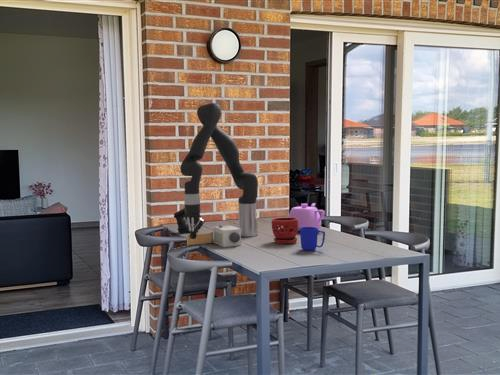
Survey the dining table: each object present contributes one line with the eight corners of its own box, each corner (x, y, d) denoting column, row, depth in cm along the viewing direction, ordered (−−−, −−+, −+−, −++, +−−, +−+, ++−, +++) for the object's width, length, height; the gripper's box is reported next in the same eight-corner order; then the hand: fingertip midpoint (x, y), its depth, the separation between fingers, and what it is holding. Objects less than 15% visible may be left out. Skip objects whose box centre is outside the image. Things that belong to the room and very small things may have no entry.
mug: (320, 253, 257) (320, 230, 256) (296, 250, 264) (296, 228, 263) (328, 249, 264) (328, 228, 263) (304, 247, 271) (304, 226, 270)
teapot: (318, 234, 306) (318, 206, 304) (283, 231, 316) (283, 204, 315) (335, 228, 325) (335, 202, 324) (301, 225, 336) (301, 200, 335)
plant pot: (300, 240, 289) (300, 216, 287) (295, 245, 276) (295, 220, 275) (275, 239, 292) (274, 216, 291) (268, 244, 279) (268, 219, 278)
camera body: (230, 240, 289) (230, 223, 288) (242, 245, 276) (242, 227, 275) (213, 242, 285) (212, 225, 284) (224, 247, 272) (224, 229, 271)
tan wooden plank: (213, 242, 285) (213, 232, 284) (188, 245, 278) (187, 235, 277) (212, 242, 286) (211, 231, 286) (186, 245, 279) (186, 234, 279)
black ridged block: (204, 229, 317) (192, 205, 314) (183, 240, 314) (170, 216, 311) (202, 228, 320) (190, 204, 317) (181, 239, 317) (169, 215, 314)
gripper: (208, 202, 276) (209, 238, 277) (185, 201, 282) (186, 236, 284) (199, 204, 269) (200, 241, 271) (176, 203, 275) (177, 239, 277)
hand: (193, 238), depth 277 cm, fingers closed
